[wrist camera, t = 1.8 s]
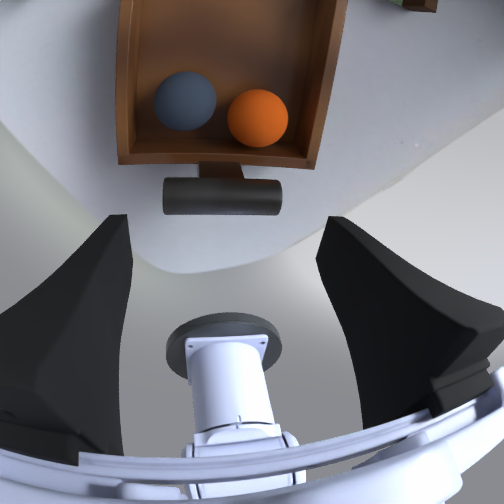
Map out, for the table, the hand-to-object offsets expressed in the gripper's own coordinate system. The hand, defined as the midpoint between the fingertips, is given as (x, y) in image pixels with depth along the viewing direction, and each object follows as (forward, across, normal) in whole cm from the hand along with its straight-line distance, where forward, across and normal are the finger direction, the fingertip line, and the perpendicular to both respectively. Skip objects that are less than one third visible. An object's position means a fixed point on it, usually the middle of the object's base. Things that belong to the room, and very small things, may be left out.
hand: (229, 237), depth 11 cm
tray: (+8, 0, -5) cm, 10 cm away
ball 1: (+6, +2, -3) cm, 7 cm away
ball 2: (+6, -2, -3) cm, 7 cm away
